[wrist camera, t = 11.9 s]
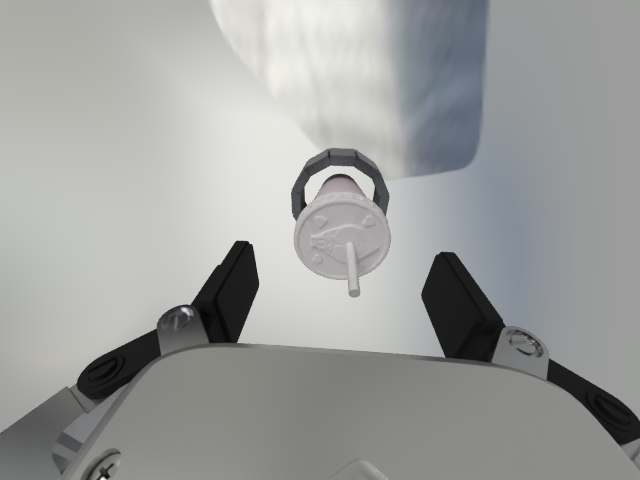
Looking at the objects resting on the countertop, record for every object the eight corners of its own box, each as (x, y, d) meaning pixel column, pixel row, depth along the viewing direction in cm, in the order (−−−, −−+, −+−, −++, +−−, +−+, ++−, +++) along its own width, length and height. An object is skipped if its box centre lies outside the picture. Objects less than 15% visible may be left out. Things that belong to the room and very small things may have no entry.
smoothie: (365, 223, 25) (392, 339, 13) (306, 217, 25) (278, 327, 13) (377, 162, 21) (430, 243, 9) (309, 155, 21) (276, 228, 9)
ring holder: (295, 146, 21) (289, 153, 18) (389, 150, 21) (397, 157, 18) (297, 228, 26) (293, 242, 23) (375, 232, 25) (379, 247, 23)
